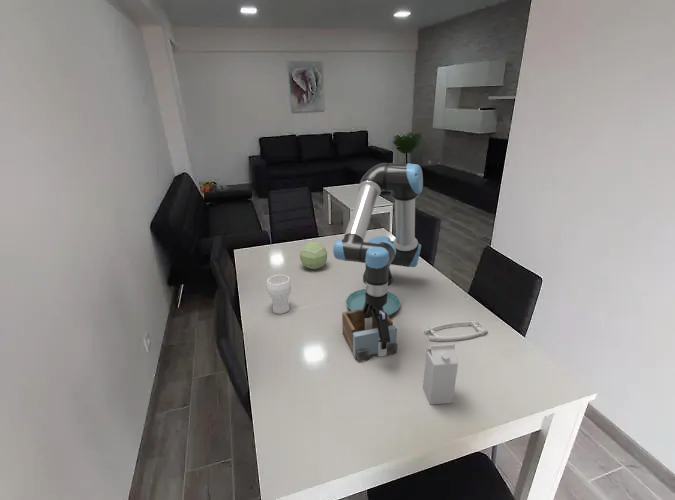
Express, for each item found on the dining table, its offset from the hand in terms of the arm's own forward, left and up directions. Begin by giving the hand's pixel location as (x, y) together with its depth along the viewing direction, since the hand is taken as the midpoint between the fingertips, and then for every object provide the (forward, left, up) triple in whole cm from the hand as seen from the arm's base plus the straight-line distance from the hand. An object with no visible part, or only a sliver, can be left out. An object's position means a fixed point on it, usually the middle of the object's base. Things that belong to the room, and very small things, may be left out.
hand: (375, 343), depth 128 cm
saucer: (-11, -30, -5) cm, 32 cm away
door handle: (-35, -1, -5) cm, 35 cm away
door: (0, 0, -4) cm, 4 cm away
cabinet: (0, -6, -4) cm, 7 cm away
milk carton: (-11, +25, -4) cm, 28 cm away
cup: (+29, -41, -4) cm, 50 cm away
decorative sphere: (+5, -80, -4) cm, 80 cm away
